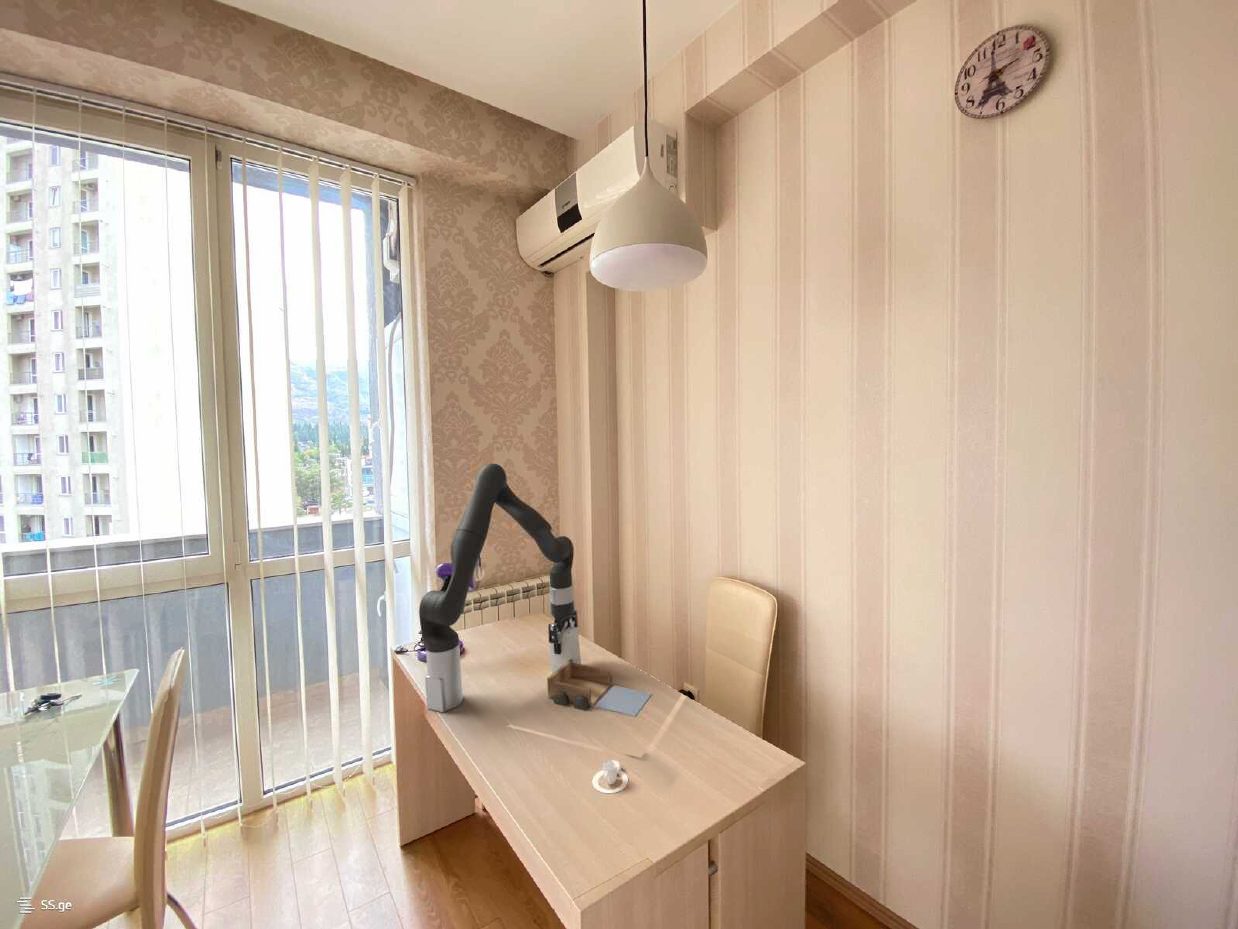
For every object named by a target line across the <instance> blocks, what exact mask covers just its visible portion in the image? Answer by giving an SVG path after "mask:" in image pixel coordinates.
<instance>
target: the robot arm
mask: <svg viewBox="0 0 1238 929" xmlns="http://www.w3.org/2000/svg"><path fill="white" fill-rule="evenodd" d="M495 504H496V505H497V506H498V507H500V508H501V509H502V510H503V511H504V512H506V513H507V514H508V516H510V517H511V518H512V519H513V520H514V521H515V522H516V523H517V524H518V525H519V526H520V527H521V528H522V529H523V530H524V531H525V532H526V533H527V534H528V535H529V537H531V538H532V539H533V540H534V542H535V544H536V545H537V547H538V548H539V550H540V552H541V554H543V556H544V557H545V558H546V559H547V560H549V561H550V562H551V563H552V562H553V565H552V567H551V569H550V571H549V586H550V588H549V589H550V590H549V600H550V615H551V616H552V617H553V618H554V621H553V623H549V624H548V632H549V636H548V644H549V643H553V644H554V653H555V654H558V655H560V654H561V643H560V642H561V638H562V636H563V633H564V632H565V630H566V629H567V628H569V627H579V622H578V612H577V610H575V599H574V589H573V588H574V587H573V575H572V568H573V563H574V551H575V550H574V544H573V541H572V540H571V539H570V538H569V537H567V536H565V535H560V536H558V537H556V536H555V535H554V534H553V533H552V530H553V529H552V528H553V527H552V525H551V524H550V523H549V522H548V521H547V520H546V518H544V516H542V515H541V513H539V511H537V510H536V509H535V508H533V507H532V506H531V505H529V504H527V502H524V500H522V499H520V498H519V497H518V496H517V495H516V494H515V493H514V492H513V490H512V488H511V487H510V486H509V485H508V479H507V472H506V471H505V469H504V468H503V467H502V466H501V465H500V464H497V463H489V464H488V463H487V464H486V465H484V466H483V467H482V468H480V470H479V472H477V476H476V481H475V483H474V488H473V491H472V495H471V497H470V500H469V503H468V505H467V507H466V509H465V511H464V513H463V515H462V518H461V520H460V522H459V524H458V526H457V528H456V531H455V533H454V536H453V538H452V541H451V543H450V551H449V552H450V560H451V566H452V567H451V576H450V580H449V582H448V586H447V588H446V591H442V590H436V589H435V590H430V591H428V592H426V593H425V594H424V595H423V596H422V598H421V601H420V604H419V608H418V610H419V611H418V613H419V614H418V616H419V625H420V631H421V638H422V641H423V642H424V644H425V654H426V656H425V658H426V669H427V671H426V672H427V675H426V676H425V677H424V682H425V683H424V684H425V696H426V708H427V709H429V710H433V711H435V712H440V713H444V712H446V711H448V710H452V709H454V708H456V707H458V706H460V705H461V704H462V702H463V701H464V700H463V699H464V698H463V697H464V694H463V683H462V682H463V681H462V680H463V679H462V667H461V665H462V664H461V651H460V636H459V633H458V632H457V631H456V630H455V629H453V628H452V627H451V626H453V625H454V624H456V623H457V622H458V621H459V619H460V618H461V615H462V614H463V613H462V612H463V610H464V607H465V604H466V600H467V595H468V592H469V588H470V585H471V581H472V578H473V575H474V572H475V570H476V566H477V564H478V561H479V558H480V555H481V553H482V551H483V547H484V546H485V544H486V540H487V536H488V532H489V529H490V524H491V518H492V513H493V508H494V505H495ZM557 630H558V631H560V633H559V632H557ZM557 635H559V637H558V639H557ZM552 636H553V639H552Z"/></svg>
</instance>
